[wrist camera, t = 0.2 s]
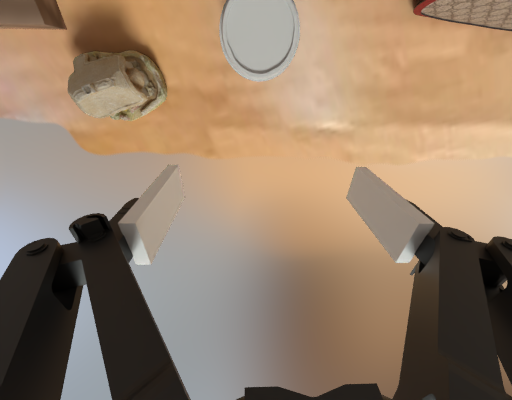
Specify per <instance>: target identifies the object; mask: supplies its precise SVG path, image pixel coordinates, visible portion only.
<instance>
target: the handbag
mask: <svg viewBox="0 0 512 400" xmlns="http://www.w3.org/2000/svg"><path fill="white" fill-rule="evenodd" d="M413 12H414V14H416V15H419V16H425V17H431V18H435V19H440V20H444V21H450V22H456V23H462V24H468V25H475V26H480V27H486V28H492V29H499V30H507V31H512V0H423V1H422V2H420V3H419V4H418V5H417V6H416V7H415V8H414V11H413Z"/></svg>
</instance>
